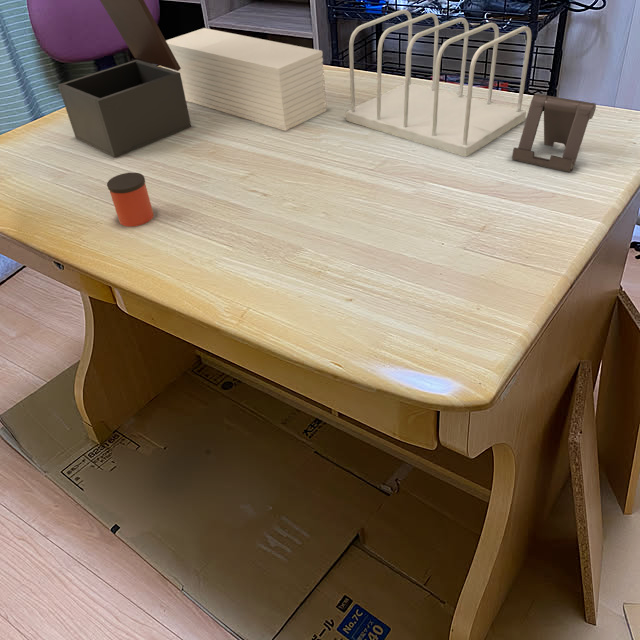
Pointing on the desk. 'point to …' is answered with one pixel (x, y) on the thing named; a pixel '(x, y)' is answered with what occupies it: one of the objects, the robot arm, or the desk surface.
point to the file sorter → (438, 96)
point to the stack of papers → (251, 77)
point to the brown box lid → (140, 32)
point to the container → (130, 199)
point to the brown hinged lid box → (126, 106)
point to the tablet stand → (555, 130)
